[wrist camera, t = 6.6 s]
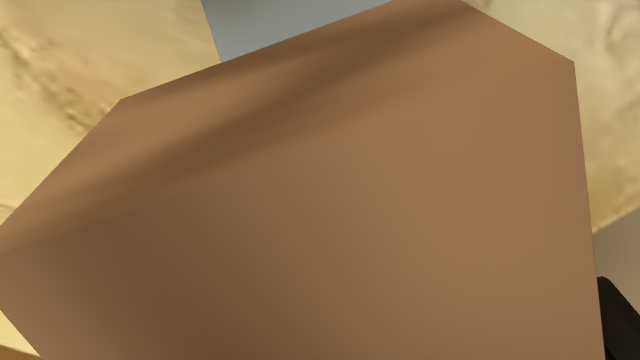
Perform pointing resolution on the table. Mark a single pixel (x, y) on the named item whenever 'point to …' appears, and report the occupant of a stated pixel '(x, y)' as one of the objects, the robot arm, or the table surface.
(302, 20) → the base slab
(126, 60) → the table surface
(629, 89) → the table surface
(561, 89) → the walnut brick
